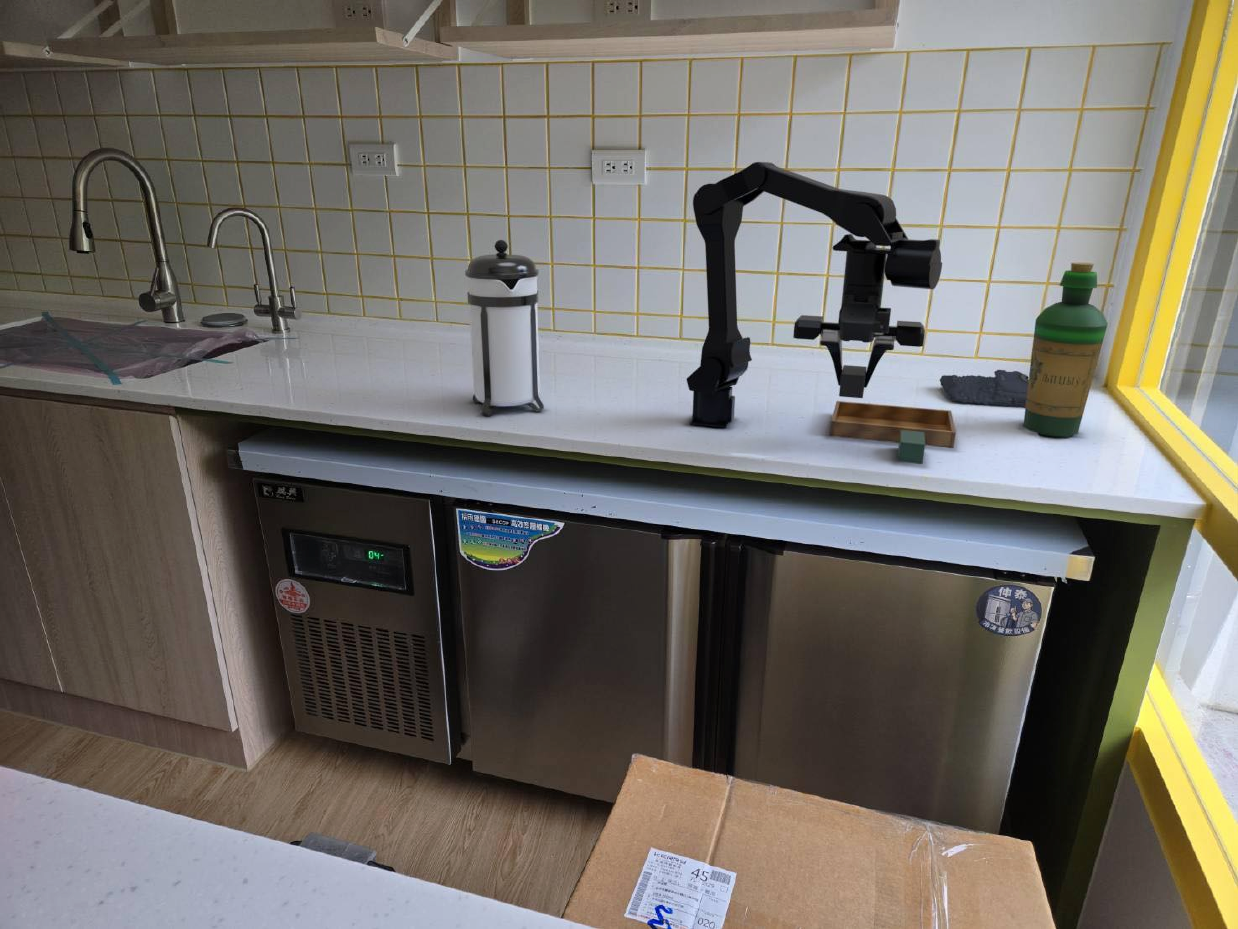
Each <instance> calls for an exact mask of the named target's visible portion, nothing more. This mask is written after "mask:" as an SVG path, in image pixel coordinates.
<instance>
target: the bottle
mask: <svg viewBox="0 0 1238 929" xmlns="http://www.w3.org/2000/svg"><path fill="white" fill-rule="evenodd" d="M1094 265H1095V264H1094V263H1090V262H1071V263H1070V269H1069V270H1065V271H1064V273H1063V276H1062V278H1061V280H1060V283H1059V287H1062V292H1061V301H1059V302H1054V303H1053V304H1051V305H1049V306H1047V307H1045V308H1044V309H1043V310H1042V311H1041V312H1040V313H1039V315H1038V316H1037V317H1036V319H1035V323H1034V332H1033V340H1032V349H1031V356H1030V357H1031V358H1030V365H1029V375H1028V377H1029V378H1028V379H1029V382H1028V390H1027V399H1026V407H1024V408H1025V409H1024V416H1023V424H1022V426H1023V427H1024V428H1025V429H1027V430H1028V431H1031V432H1034V433H1037V435H1040V436H1045V437H1051V438H1068V437H1072V436H1075V435H1078V434H1079V431H1080V428H1081V423H1082V419H1083V416H1084V412H1085V410H1086V409H1085V408H1086V405H1087V402H1088V398H1089V394H1090V390H1091V388H1092V384H1093V379H1094V376H1095V372H1096V368H1097V366H1098V361H1099V358H1100V353H1101V350H1102V347H1103V343H1104V339H1105V336H1106V333H1107V332H1106V331H1107V328H1108V324H1109V323H1108V320H1107V318H1106V316H1105V314H1104V313H1103V312H1102V311H1101V310H1100V309H1099V308H1098V307H1096V306H1095V305H1094V304H1090V299H1091V296H1092V293H1093V290H1094V289H1097V288H1098V272H1096V271H1092V270H1093V268H1094Z"/></svg>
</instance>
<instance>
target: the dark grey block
mask: <svg viewBox="0 0 1238 929" xmlns="http://www.w3.org/2000/svg"><path fill="white" fill-rule="evenodd" d="M867 367H868V366H862V365H861V366H860V365H850V364H849V365H846V364H844V365H842V373H841V381H840V385H839V392H838V397H841V398H852V399H853V398H854V399H863V398H864V392H865V388H864V384H865V375H866V371H867Z"/></svg>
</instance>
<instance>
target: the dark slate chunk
mask: <svg viewBox="0 0 1238 929" xmlns="http://www.w3.org/2000/svg"><path fill="white" fill-rule="evenodd" d="M993 374H994V376H985V375H981V374H980V375H979V374H977V375H974V374H973V375H972V374H971V375H961V376H960V375H957V374H952V375H950V374H949V375H946V374H944V375H941V377H940V378H939V383H940V384H939V385H940V386H941V387H942V390H943V393H944V394H945V395H946V397H947V398H948V399H950V400H952V401H953V402H955V403H965V404H968V405H977V406H979V405H980V406H981V405H982V406H991V407H992V406H993V407H994V406H995V407H997V406H998V407H1010V408H1025V407H1026V399H1027V390H1028V382H1029V375H1027V374H1025V373H1022V372H1021V371H1019V370H1013V371H1007V370H1005V369H997V370H995V371H994V373H993Z"/></svg>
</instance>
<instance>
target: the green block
mask: <svg viewBox="0 0 1238 929" xmlns="http://www.w3.org/2000/svg"><path fill="white" fill-rule="evenodd" d="M897 447H898V448H897V452H898V453H897V461H898V462H901V463H910V464H911V463H913V464H923V463H924V455H925V449H926V445H925V437H924V432H917V431H906V430H901V431H900V439H899V442H898V446H897Z"/></svg>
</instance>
